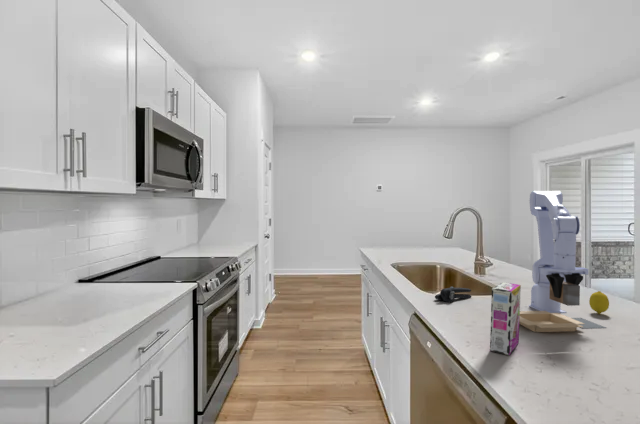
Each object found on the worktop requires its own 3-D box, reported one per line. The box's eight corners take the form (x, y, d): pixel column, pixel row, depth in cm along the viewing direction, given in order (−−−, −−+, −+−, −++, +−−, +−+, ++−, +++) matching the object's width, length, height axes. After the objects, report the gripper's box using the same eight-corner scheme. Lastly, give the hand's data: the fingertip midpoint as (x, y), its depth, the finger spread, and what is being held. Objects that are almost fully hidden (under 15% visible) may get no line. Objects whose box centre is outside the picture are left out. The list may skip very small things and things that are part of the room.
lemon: (600, 316, 126) (601, 293, 126) (585, 312, 131) (585, 289, 131) (612, 315, 127) (613, 292, 127) (597, 311, 133) (597, 288, 133)
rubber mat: (558, 319, 123) (558, 318, 123) (580, 318, 123) (580, 317, 123) (582, 329, 113) (582, 328, 113) (606, 328, 113) (606, 327, 113)
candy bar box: (510, 356, 92) (511, 291, 92) (489, 351, 95) (490, 288, 95) (520, 343, 101) (521, 284, 100) (500, 339, 104) (501, 281, 104)
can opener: (446, 304, 141) (446, 290, 141) (432, 300, 147) (432, 286, 147) (478, 299, 149) (478, 285, 149) (464, 295, 155) (464, 282, 155)
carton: (501, 319, 123) (501, 311, 122) (552, 318, 124) (552, 310, 124) (532, 336, 107) (533, 327, 107) (591, 334, 108) (591, 326, 108)
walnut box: (549, 298, 120) (549, 280, 120) (560, 298, 121) (560, 280, 121) (567, 305, 112) (568, 286, 112) (579, 305, 113) (579, 285, 113)
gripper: (551, 256, 112) (550, 300, 112) (596, 256, 113) (595, 300, 113) (536, 253, 119) (535, 295, 119) (578, 252, 120) (578, 294, 120)
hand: (563, 297), depth 117 cm, fingers closed on walnut box, 4 cm apart
